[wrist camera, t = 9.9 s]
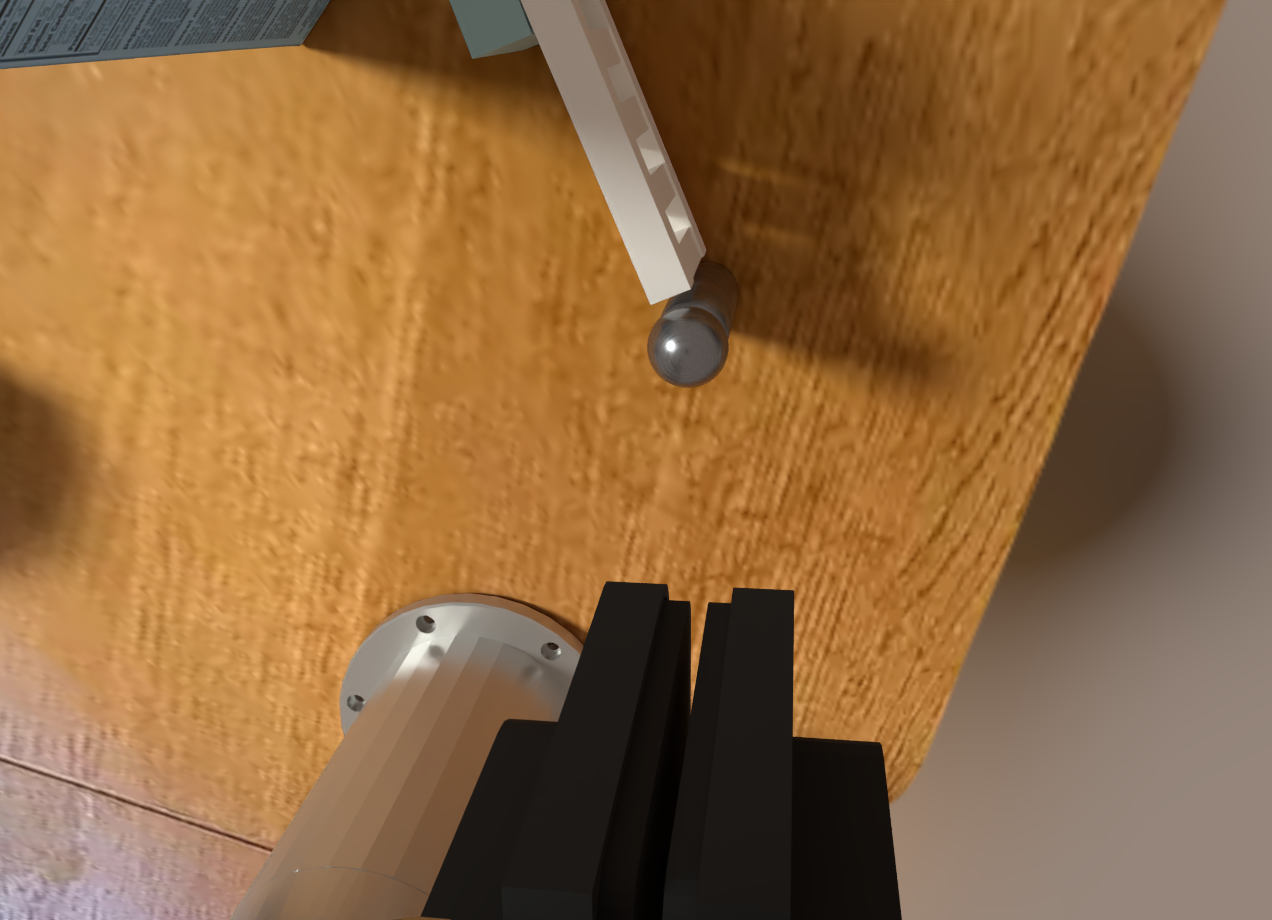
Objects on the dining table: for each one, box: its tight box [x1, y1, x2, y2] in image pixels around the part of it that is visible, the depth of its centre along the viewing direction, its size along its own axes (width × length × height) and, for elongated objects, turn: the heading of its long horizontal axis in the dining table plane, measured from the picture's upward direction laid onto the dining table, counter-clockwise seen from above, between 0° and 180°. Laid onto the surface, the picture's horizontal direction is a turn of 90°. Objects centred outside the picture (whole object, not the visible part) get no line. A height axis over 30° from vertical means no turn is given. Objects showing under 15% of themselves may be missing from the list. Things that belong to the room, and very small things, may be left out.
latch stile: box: [449, 0, 539, 59], centre depth 38 cm, size 2×2×7 cm
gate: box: [521, 0, 706, 305], centre depth 39 cm, size 11×1×7 cm, turn 23°
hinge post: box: [647, 261, 738, 388], centre depth 40 cm, size 3×3×9 cm
